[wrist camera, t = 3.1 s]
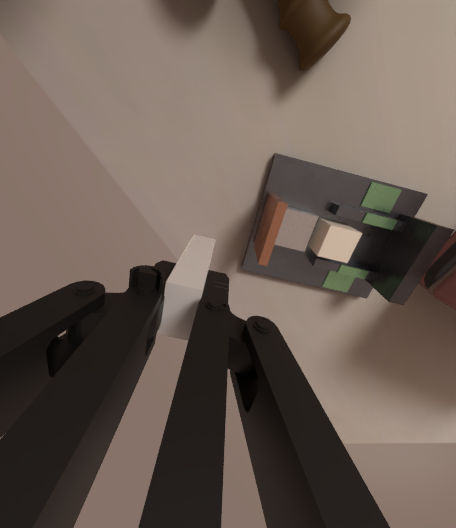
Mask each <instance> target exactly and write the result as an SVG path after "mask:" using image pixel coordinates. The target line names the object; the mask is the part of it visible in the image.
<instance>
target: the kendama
mask: <svg viewBox="0 0 456 528" xmlns="http://www.w3.org/2000/svg"><path fill="white" fill-rule="evenodd" d="M277 2H278V5H279V9H280V24H279V28H280V29H281V30H285V31H288V32H289V33H290V34H291V36H292V37H293V39H294V41H295V43H296V45H297V48H298V51H299V55H300V61H299V68H300V69H301V70H306V69H308V68H310V67H311V66H312V65H314V64H315V63H316V62H317V61H318V60H319V59H321V58H322V57H323V56H324V55H325V54H326V53H327V52H328V51H329V50H330V49H331V48H332V46H333V45H334V44H335V43H336V42H337V41H338V40H339V38H340V37H341V36H342V34H343V33H344V32H345V31H346V29H347V27H348V25H349V24H350V20H351V17H350V15H348V14H338V13H336V12H335V11H334V10H333V9H332V7H331V6H330V4H329V2H328V0H277Z"/></svg>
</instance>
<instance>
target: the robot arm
mask: <svg viewBox="0 0 456 528" xmlns="http://www.w3.org/2000/svg"><path fill="white" fill-rule="evenodd" d="M215 241H216V239H212V238H207V237H203V236H199V235H195V234H194V235H193V236H192V238H191V240H190V241H189V243H188V245H187V247H186V248H185V250H184V252H183V254H182V255H181V257H180V259H179V260H178V262H177V263H172V262H168V261H160V262H158V263H156V264H155V266H154V267H153V266H147V265H145V266H136V267H133V268H132V269H130V279H129V288H128V289H127V290H126V292H124V293H105V287H104V286H103V285H102V284H100V283H99V282H95V281H79V282H75V283H72V284H69V285H68V286H66V287H63V288H61V289H59V290H57V291H55V292H53V293H51V294H48V295H46V296H44V297H42V298H40V299H38V300H36V301H34V302H32V303H30V304H28V305H25V306H23V307H21V308H19V309H17V310H15V311H13V312H11V313H9V314H7V315H5V316H3V317H1V318H0V437H2V436H3V435H4V434H5V433H6V434H5V435H4V436H3V437H2V438H1V439H0V528H73V527H74V525H75V523H76V520H77V518H78V516H79V514H80V511H81V509H82V507H83V505H84V502H85V500H86V498H87V495H88V493H89V491H90V489H91V486H92V484H93V482H94V480H95V477H96V475H97V473H98V471H99V468H100V466H101V464H102V462H103V459H104V457H105V455H106V452H107V450H108V448H109V446H110V443H111V441H112V439H113V436H114V434H115V432H116V430H117V428H118V425H119V423H120V421H121V418H122V416H123V414H124V411H125V409H126V407H127V405H128V403H129V400H130V398H131V396H132V393H133V391H134V389H135V387H136V384H137V382H138V380H139V378H140V376H141V373H142V371H143V369H144V366H145V364H146V362H147V360H148V357H149V355H150V353H151V351H152V348H153V346H154V344H155V338H156V333H157V331H158V329H159V334H160V335H165V336H169V337H174V338H179V339H184V340H189V341H188V345H187V348H186V352H185V356H184V360H183V363H182V367H181V371H180V374H179V378H178V382H177V386H176V390H175V393H174V397H173V400H172V404H171V408H170V412H169V415H168V419H167V423H166V427H165V430H164V434H163V438H162V442H161V446H160V449H159V453H158V457H157V460H156V464H155V468H154V472H153V475H152V479H151V483H150V487H149V490H148V494H147V498H146V502H145V505H144V509H143V513H142V516H141V520H140V524H139V528H221V514H222V489H223V488H222V487H223V466H224V441H225V418H226V392H227V370H228V369H230V375H231V379H232V383H233V387H234V391H235V396H236V400H237V404H238V408H239V413H240V417H241V421H242V425H243V429H244V433H245V438H246V442H247V446H248V450H249V454H250V458H251V463H252V466H253V471H254V475H255V479H256V484H257V488H258V492H259V496H260V500H261V504H262V509H263V513H264V517H265V521H266V525H267V528H390V527H389V525H388V523H387V521H386V520H385V518H384V516H383V515H382V512H381V511H380V509H379V507H378V505H377V504H376V502H375V500H374V498H373V496H372V495H371V493H370V491H369V490H368V488H367V486H366V484H365V482H364V481H363V479H362V477H361V475H360V473H359V472H358V470H357V468H356V466H355V464H354V463H353V461H352V459H351V457H350V456H349V454H348V452H347V450H346V448H345V447H344V445H343V443H342V441H341V440H340V438H339V436H338V434H337V432H336V431H335V429H334V427H333V425H332V424H331V422H330V420H329V418H328V416H327V415H326V413H325V411H324V409H323V408H322V406H321V404H320V402H319V400H318V399H317V397H316V395H315V393H314V391H313V390H312V388H311V386H310V384H309V383H308V381H307V379H306V377H305V375H304V374H303V372H302V370H301V368H300V367H299V365H298V363H297V361H296V359H295V358H294V356H293V354H292V352H291V351H290V349H289V347H288V345H287V343H286V342H285V340H284V338H283V336H282V335H281V333H280V331H279V329H278V327H277V326H276V325H275V324H274V323H273V322H272V321H270V320H269V319H267V318H264V317H261V316H251V317H249V318H248V319H247V321H245V320H242V319H240V318H238V317H237V316H235V315H234V314H232V312H231V311H230V307H229V305H228V292H229V278H228V277H227V275H226V274H224V273H219V272H215V271H210V270H209V267H210V263H211V259H212V254H213V250H214V245H215ZM65 330H66V333H65V334H64V335H62V336H60V337H58V335H59V334H61V333H62V332H64V331H65Z"/></svg>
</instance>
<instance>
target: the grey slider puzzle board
mask: <svg viewBox="0 0 456 528" xmlns="http://www.w3.org/2000/svg"><path fill="white" fill-rule="evenodd" d="M269 193H272V194H276V195H278V196H279V197H280V198H281V199H282V200H284V201H285V202H286V203H287V204H288V206H287V207H291V208H295V209H299V210H303V211H307V212H311V213H314V214H316V215H317V216H319V217H318V219H319V218H323V219H327V220H331V221H335V222H339V223H343V224H347V225H349V226H351V227H352V228H354V229H356V230H358V231H359V232H361V233H362V235H361V237H360V239H359V241H358V243H357V245H356V247H355V249H354V251H353V253H352V255H351V257H350V259H349V261H348V263H345V262H340V261H336V260H332V259H328V258H324V257H319V256H317V255H316V254H315V253H314V252H313V250H312V249H311V248H310V247H309V246H308V244H309V242H308V244H307V247H306V249H305V252H303V251H299V250H295V249H291V248H286V247H282V246H278V245H274V247H273V250H272V253H271V256H270V259H269V262H268V264H267V266H264V265H260V264H258V261H257V256H256V252H255V248H254V240H255V237H256V234H257V230H258V227H259V224H260V221H261V217H262V214H263V211H264V207H265V204H266V201H267V197H268V194H269ZM427 195H428V194H425V193H422V192H418V191H414V190H410V189H407V188H403V187H399V186H396V185H392V184H388V183H384V182H381V181H377V180H373V179H369V178H366V177H362V176H358V175H355V174H351V173H347V172H343V171H340V170H336V169H332V168H329V167H325V166H321V165H317V164H314V163H310V162H306V161H303V160H299V159H295V158H291V157H288V156H284V155H280V154H276V153H275V154H274V157H273V160H272V164H271V167H270V171H269V174H268V178H267V181H266V184H265V188H264V191H263V195H262V198H261V201H260V205H259V208H258V212H257V215H256V219H255V222H254V225H253V229H252V232H251V236H250V239H249V243H248V246H247V249H246V253H245V256H244V260H243V263H242V270H245V271H249V272H253V273H258V274H262V275H267V276H271V277H275V278H280V279H284V280H288V281H293V282H297V283H302V284H306V285H310V286H315V287H319V288H324V289H328V290H332V291H337V292H341V293H345V294H350V295H354V296H359V297H363V298H367V297H368V295H369V294H370V292H371V290H372V289H373V288H374V289H376V290H377V291H378V292H379V293H380V294H381V295H382V296H383V297H384V298H385V299H386V300H388V301H389V302H392V303H397V304H401V305H404V304H405V302H406V301H407V299H408V298H409V296H410V295H411V293H412V292H413V290H414V289H415V287H416V286H417V284H418V283H419V281H420V280H421V278H422V277H423V276H424V274H425V273H426V271H427V270H428V268H429V267H430V265H431V264H432V262H433V261H434V259H435V258H436V256H437V255H438V253H439V252H440V250H441V249H442V247H443V246H444V244H445V243H446V242H447V240H448V239H449V237H450V236H451V234H452V233H453V231H454V229H450V228H447V227H444V226H441V225H438V224H434V223H431V222H428V221H425V220H422V219H419V218H415V215H416V213H417V212H418V210H419V208H420V207H421V205H422V203H423V202H424V200H425V198H426V196H427ZM317 222H318V220H317ZM317 222H316V224H317ZM315 227H316V225H315ZM315 227H314V229H315ZM313 232H314V230H313ZM313 232H312V234H313ZM311 236H312V235H311ZM310 239H311V237H310ZM309 241H310V240H309Z"/></svg>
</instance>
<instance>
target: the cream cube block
mask: <svg viewBox="0 0 456 528" xmlns="http://www.w3.org/2000/svg"><path fill="white" fill-rule="evenodd" d="M361 235H362V233H361V232H359V231H358V230H356V229H354V228H352V227H351V226H349V225H347V224H343V223H339V222H335V221H331V220H327V219H323V218H319V219H318V222H317V224H316V227H315V229H314V232H313V234H312V236H311V239H310V241H309V244H308V246H309V247H310V248H311V249H312V250H313V252H314V253H315V254H316V255H317V256H319V257H324V258H328V259H332V260H336V261H340V262H345V263H348V261H349V259H350V257H351V255H352V253H353V251H354V249H355V247H356V245H357V243H358V241H359V239H360V237H361Z"/></svg>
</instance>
